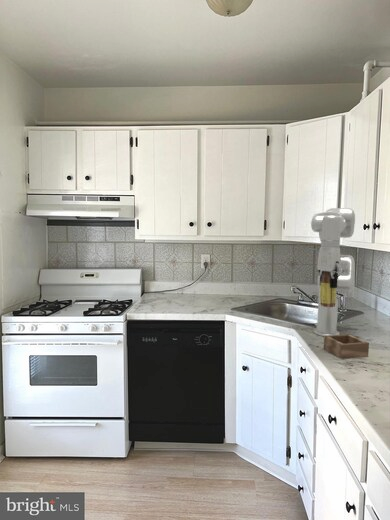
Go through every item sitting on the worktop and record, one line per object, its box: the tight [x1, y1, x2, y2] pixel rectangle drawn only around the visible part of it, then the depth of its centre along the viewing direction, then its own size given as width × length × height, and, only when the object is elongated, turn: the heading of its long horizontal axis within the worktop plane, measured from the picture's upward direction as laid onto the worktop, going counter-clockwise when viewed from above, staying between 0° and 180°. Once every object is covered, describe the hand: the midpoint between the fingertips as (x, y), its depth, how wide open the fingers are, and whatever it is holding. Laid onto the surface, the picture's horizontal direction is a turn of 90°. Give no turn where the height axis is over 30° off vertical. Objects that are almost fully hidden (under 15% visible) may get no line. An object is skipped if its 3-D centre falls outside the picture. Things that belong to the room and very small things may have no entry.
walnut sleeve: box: [323, 333, 370, 360], centre depth 162 cm, size 13×13×6 cm
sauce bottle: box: [320, 271, 337, 307], centre depth 158 cm, size 6×6×20 cm
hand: (328, 286), depth 158 cm, fingers closed on sauce bottle, 6 cm apart
